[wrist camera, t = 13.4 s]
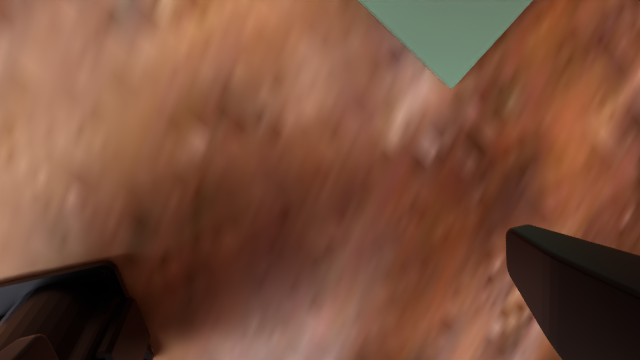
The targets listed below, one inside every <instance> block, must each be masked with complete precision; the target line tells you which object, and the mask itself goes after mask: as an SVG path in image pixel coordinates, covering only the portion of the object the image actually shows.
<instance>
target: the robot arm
mask: <svg viewBox="0 0 640 360" xmlns="http://www.w3.org/2000/svg"><path fill="white" fill-rule="evenodd" d="M506 261H507V269H508V272H509V275H510V277H511V279H512V280H513V282H514V284H515V285H516V287H517V289H518V291H519V292H520V294H521V296H522V297H523V299H524V301H525V302H526V304H527V306H528V307H529V309H530V311H531V312H532V314H533V316H534V318H535V319H536V321H537V323H538V324H539V326H540V328H541V329H542V331H543V333H544V334H545V336H546V337H547V339H548V340H549V342H550V343H551V345H552V346H553V348H554V349H555V350H556V352H557V353H558V354H559V356H560V357H561V358H562V360H640V256H639V255H636V254H632V253H628V252H625V251H621V250H618V249H614V248H611V247H607V246H604V245H600V244H597V243H593V242H589V241H586V240H582V239H579V238H575V237H572V236H568V235H565V234H561V233H558V232H554V231H550V230H547V229H543V228H540V227H536V226H533V225H522V226H518V227H513V228H510V229H509V230H508V231H507V233H506ZM102 270H107V271H109V272H110V274H105V273H103V272H102ZM149 340H150V334H149V332H148V329H147V327H146V325H145V322H144V320H143V317H142V315H141V313H140V310H139V308H138V305H137V303H136V300H135V299H134V298H132V297H131V296H129V294H128V291H127V289H126V287H125V284H124V282H123V280H122V277H121V275H120V272H119V270H118V268H117V266H116V265H115V264H114V263H113V262H110V261H101V262H97V263H92V264H88V265H83V266H79V267H74V268H70V269H65V270H61V271H56V272H52V273H47V274H43V275H38V276H34V277H29V278H25V279H20V280H16V281H11V282H7V283H2V284H0V360H143V358H146V359H144V360H153V358H154V354H153V351H152V349H151V346H150V344H149Z"/></svg>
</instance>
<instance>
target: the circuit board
mask: <svg viewBox="0 0 640 360" xmlns="http://www.w3.org/2000/svg"><path fill="white" fill-rule="evenodd" d="M358 1H359V2H360V3H361V4H362V5H363V6H364V7H365V8H366V9H367V10H368V11H369V12H370V13H371V14H372V15H373V16H374V17H375V18H376V19H377V20H378V21H379V22H381V23H382V24H383V25H384V26H385V27H386V28H387V29H388V30H389V31H390V32H391V33H392V34H393V35H394V36H395V37H396V38H397V39H398V40H399V41H400V42H401V43H402V44H403V45H404V46H405V47H406V48H407V49H409V50H410V51H411V52H412V53H413V54H414V55H415V56H416V57H417V58H418V59H419V60H420V61H421V62H422V63H423V64H424V65H425V66H426V67H427V68H428V69H429V70H430V71H431V72H432V73H433V74H434V75H435V76H437V77H438V78H439V79H440V80H441V81H442V82H443V83H444V84H445V85H446V86H447V87H449V88H451V89H453V87H454V86H455V85H456V84H457V83H458V82H459V81H460V80H461V79H462V78H463V77H464V75H465V74H466V73H467V72H468V71H469V70H470V69H471V68H472V67H473V66H474V64H475V63H476V62H477V61H478V60H479V59H480V58H481V57H482V56H483V55H484V53H485V52H486V51H487V50H488V49H489V48H490V47H491V46H492V45H493V44H494V42H495V41H496V40H497V39H498V38H499V37H500V36H501V35H502V34H503V33H504V31H505V30H506V29H507V28H508V27H509V26H510V25H511V24H512V23H513V22H514V20H515V19H516V18H517V17H518V16H519V15H520V14H521V13H522V12H523V11H524V10H525V8H526V7H527V6H528V5H529V4H530V3H531V2H532V1H533V0H358Z"/></svg>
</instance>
